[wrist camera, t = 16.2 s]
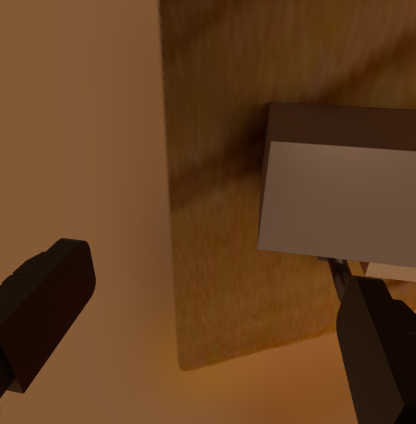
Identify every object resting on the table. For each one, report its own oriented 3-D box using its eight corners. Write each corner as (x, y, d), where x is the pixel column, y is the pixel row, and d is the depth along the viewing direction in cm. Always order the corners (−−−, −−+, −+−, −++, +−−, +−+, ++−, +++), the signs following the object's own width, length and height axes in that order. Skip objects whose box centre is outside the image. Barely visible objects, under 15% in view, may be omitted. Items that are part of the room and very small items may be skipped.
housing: (269, 102, 39) (270, 141, 23) (479, 113, 35) (645, 167, 20) (261, 175, 44) (257, 249, 28) (445, 191, 40) (556, 284, 25)
